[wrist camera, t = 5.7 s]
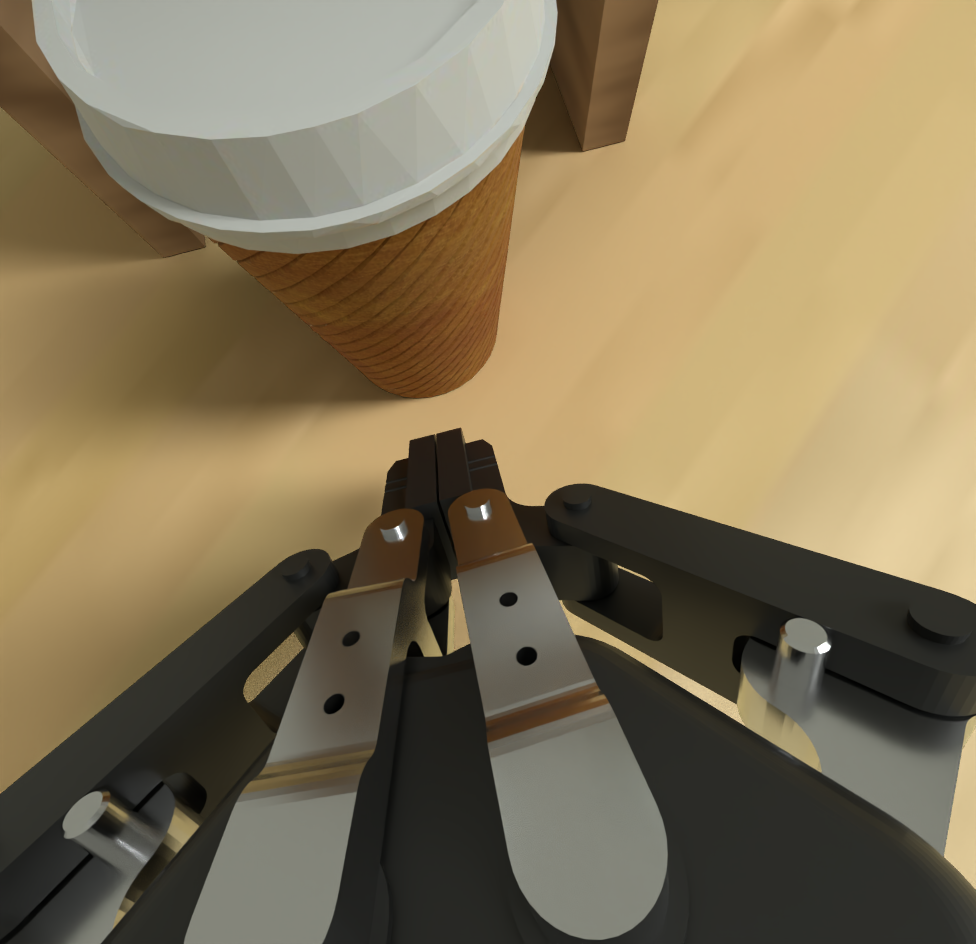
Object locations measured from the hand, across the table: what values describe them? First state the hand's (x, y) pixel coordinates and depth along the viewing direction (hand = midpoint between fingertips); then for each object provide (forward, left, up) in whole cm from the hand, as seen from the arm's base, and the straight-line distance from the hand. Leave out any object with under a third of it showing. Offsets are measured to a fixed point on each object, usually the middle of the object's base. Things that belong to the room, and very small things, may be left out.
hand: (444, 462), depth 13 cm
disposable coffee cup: (0, -7, -5) cm, 9 cm away
